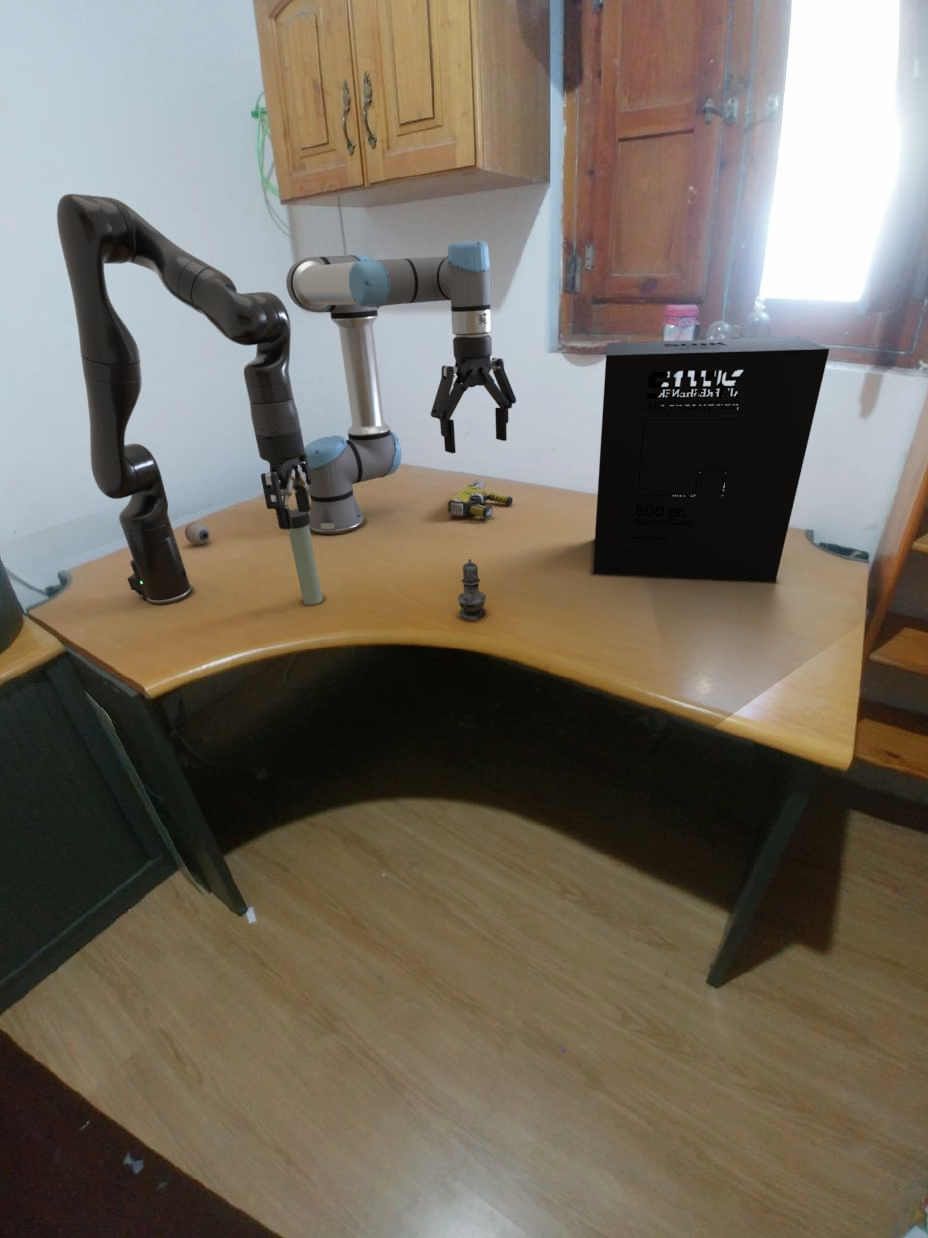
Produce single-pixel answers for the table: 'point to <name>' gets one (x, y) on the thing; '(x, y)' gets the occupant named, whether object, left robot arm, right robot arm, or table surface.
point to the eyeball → (197, 533)
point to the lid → (299, 518)
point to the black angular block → (703, 455)
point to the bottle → (306, 565)
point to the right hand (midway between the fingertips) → (476, 445)
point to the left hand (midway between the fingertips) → (295, 519)
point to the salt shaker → (471, 594)
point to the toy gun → (475, 501)
